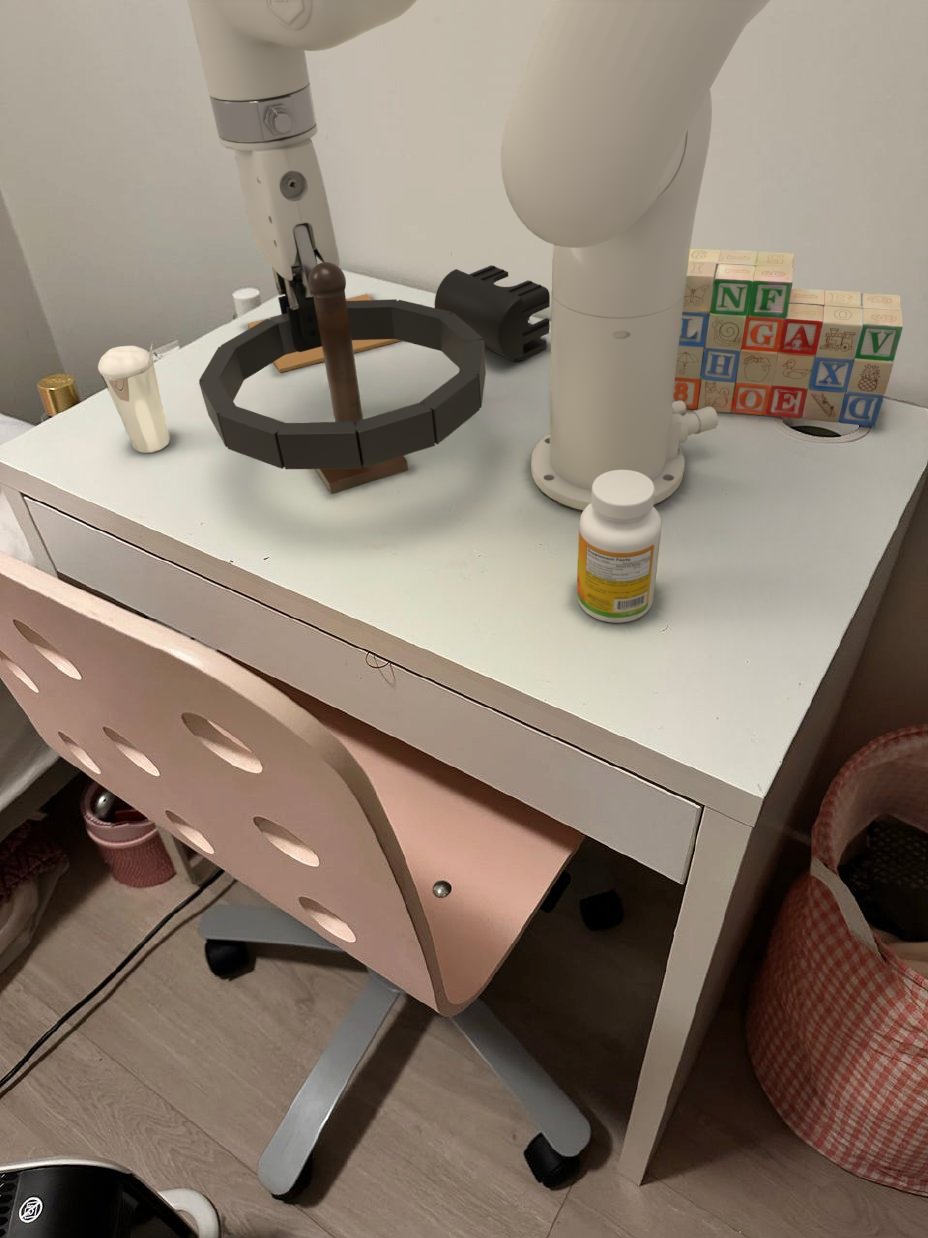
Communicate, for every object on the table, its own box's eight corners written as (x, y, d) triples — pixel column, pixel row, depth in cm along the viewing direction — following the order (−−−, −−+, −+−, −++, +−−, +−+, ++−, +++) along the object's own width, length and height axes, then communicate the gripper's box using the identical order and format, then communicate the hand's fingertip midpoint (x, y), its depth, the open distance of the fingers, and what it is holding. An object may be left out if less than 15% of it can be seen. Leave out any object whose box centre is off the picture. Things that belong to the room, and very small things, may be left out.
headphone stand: (378, 432, 84) (352, 238, 72) (408, 469, 79) (385, 269, 68) (304, 453, 82) (265, 258, 70) (331, 493, 77) (293, 291, 66)
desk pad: (367, 297, 105) (366, 293, 105) (408, 338, 97) (407, 335, 97) (248, 326, 101) (247, 323, 101) (280, 372, 93) (279, 369, 93)
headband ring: (419, 310, 87) (415, 279, 85) (532, 415, 71) (532, 380, 69) (185, 373, 81) (175, 341, 79) (255, 502, 65) (246, 466, 63)
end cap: (436, 341, 96) (430, 277, 92) (487, 318, 100) (484, 256, 95) (500, 374, 91) (498, 307, 86) (552, 349, 94) (553, 283, 89)
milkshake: (172, 459, 83) (139, 356, 76) (117, 455, 84) (80, 353, 77) (193, 432, 86) (163, 330, 79) (140, 428, 87) (106, 327, 80)
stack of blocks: (875, 393, 84) (912, 258, 76) (875, 429, 80) (915, 290, 72) (639, 370, 90) (649, 242, 81) (628, 403, 85) (638, 271, 77)
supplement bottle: (597, 566, 69) (604, 454, 62) (665, 589, 66) (679, 476, 60) (563, 609, 66) (565, 496, 59) (633, 635, 63) (644, 520, 57)
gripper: (346, 129, 66) (379, 366, 79) (281, 86, 77) (320, 300, 89) (244, 150, 64) (295, 390, 77) (193, 102, 75) (245, 320, 87)
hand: (308, 340), depth 83 cm, fingers closed on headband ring, 1 cm apart
